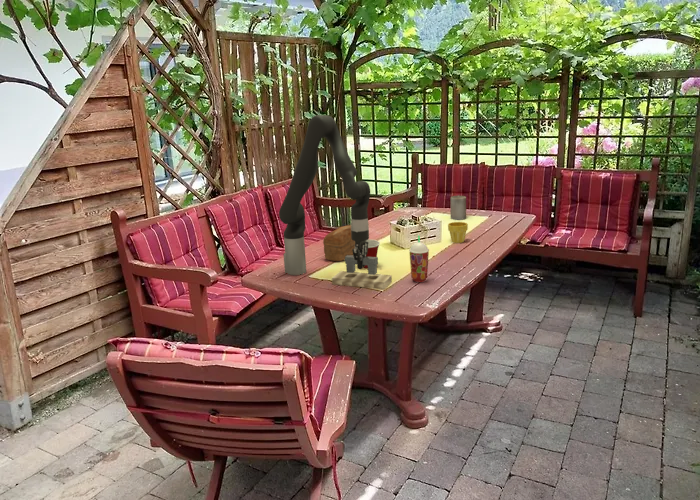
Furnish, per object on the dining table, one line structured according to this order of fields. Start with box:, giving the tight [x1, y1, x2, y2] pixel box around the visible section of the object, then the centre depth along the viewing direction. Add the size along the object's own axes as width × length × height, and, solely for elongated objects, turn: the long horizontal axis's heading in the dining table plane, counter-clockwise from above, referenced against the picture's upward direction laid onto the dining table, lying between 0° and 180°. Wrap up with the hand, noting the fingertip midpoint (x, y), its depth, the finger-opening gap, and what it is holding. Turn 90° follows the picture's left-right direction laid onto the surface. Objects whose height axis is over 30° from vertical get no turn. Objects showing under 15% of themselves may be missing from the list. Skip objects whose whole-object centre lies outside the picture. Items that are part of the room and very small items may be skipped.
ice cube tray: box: [331, 270, 393, 290], centre depth 247 cm, size 24×10×3 cm, turn 68°
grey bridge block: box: [344, 255, 379, 275], centre depth 245 cm, size 14×3×7 cm, turn 68°
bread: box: [322, 224, 355, 262], centre depth 289 cm, size 12×28×14 cm, turn 150°
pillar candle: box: [450, 194, 467, 221], centre depth 357 cm, size 10×10×15 cm
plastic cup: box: [363, 238, 381, 269], centre depth 268 cm, size 11×11×12 cm
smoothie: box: [409, 235, 430, 283], centre depth 245 cm, size 8×8×20 cm
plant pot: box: [447, 221, 469, 244], centre depth 305 cm, size 10×10×10 cm
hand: (361, 267), depth 246 cm, fingers closed on grey bridge block, 3 cm apart
